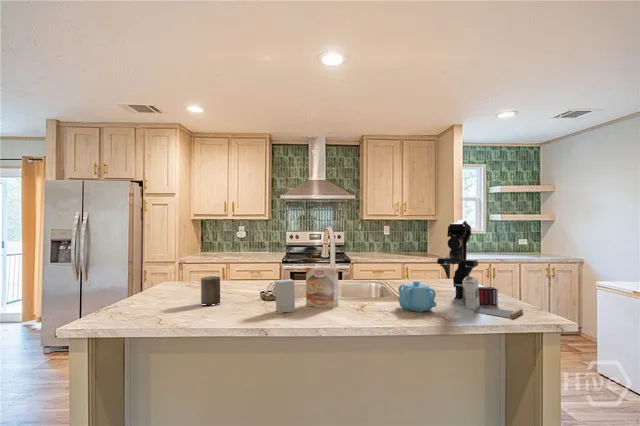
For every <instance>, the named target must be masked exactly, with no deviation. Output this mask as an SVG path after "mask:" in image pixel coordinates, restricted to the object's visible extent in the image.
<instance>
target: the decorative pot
mask: <svg viewBox="0 0 640 426" xmlns="http://www.w3.org/2000/svg"><path fill="white" fill-rule="evenodd" d="M398 293H399V296H398V298H397V299H398V302H399V306H400V307H401V308H402V309H404V311H407V310H409V311H416V313H419V314H422V313H423V312H426V311H429V310H432V309H433V308H436V307H437V302H436V301H435V299H436V296H437V295H436V294H437V293H436V291H435V289H434V288H432V287H430V286H429V285H428V284H421V282H420V281H418V280H414V281H412V283H408V284H401V285H399V286H398Z"/></svg>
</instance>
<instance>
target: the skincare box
mask: <svg viewBox="0 0 640 426" xmlns="http://www.w3.org/2000/svg"><path fill="white" fill-rule="evenodd" d="M274 284H275V285H274V288H275V311H276V312H277V314H284V313H283V312H287V313H294V311H295V312H296V304H295V303H296V301H295V299H296V298H295V297H296V296H295V295H296V293H295V292H296V291H295V280H293V279H292V278H288V279H279V280H277V279H276V280H274Z"/></svg>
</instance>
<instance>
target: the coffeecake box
mask: <svg viewBox="0 0 640 426" xmlns="http://www.w3.org/2000/svg"><path fill="white" fill-rule="evenodd" d="M305 274H306V275H305V280H306V281H305V286H306V287H305V288H306V291H305V296H306V297H305V301H306V307H310V306H314V307H313V308H321V307H325V308H324V309H332V308H334V309H335V308H337V307H338V306H339V267H336V266H333V267H332V266H318V265H317V266H316V265H315V266H314V265H312V266H307V267H306V268H305Z"/></svg>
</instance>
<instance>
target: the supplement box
mask: <svg viewBox="0 0 640 426" xmlns="http://www.w3.org/2000/svg"><path fill="white" fill-rule="evenodd" d="M478 287H479V300H480V305H479V306H490V307H492V306H498V305H499V302H498V300H499V297H498V294H499V293H498V292H499V289H498V288H496V287H494V286H493V287H492V286H491V287H490V286H478ZM462 304H463V305H464V296H463V299H462Z"/></svg>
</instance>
